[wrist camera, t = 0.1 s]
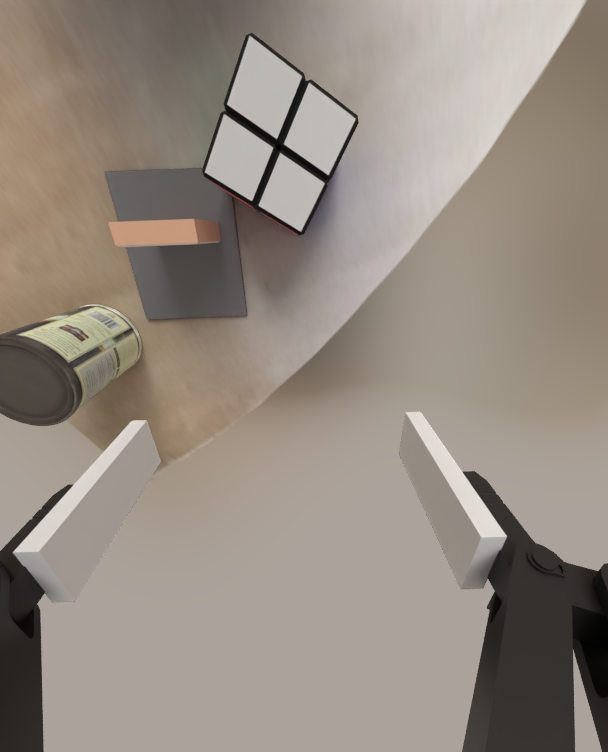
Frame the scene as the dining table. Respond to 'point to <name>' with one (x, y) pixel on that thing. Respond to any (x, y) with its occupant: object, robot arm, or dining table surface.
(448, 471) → the robot arm
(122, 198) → the mat
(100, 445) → the dining table surface
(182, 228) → the tile
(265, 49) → the puzzle cube
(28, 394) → the coffee can
